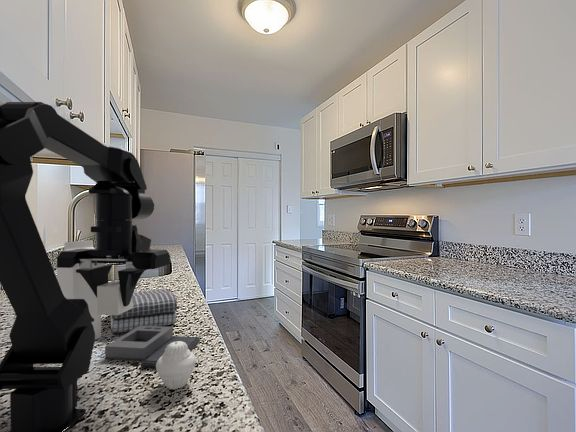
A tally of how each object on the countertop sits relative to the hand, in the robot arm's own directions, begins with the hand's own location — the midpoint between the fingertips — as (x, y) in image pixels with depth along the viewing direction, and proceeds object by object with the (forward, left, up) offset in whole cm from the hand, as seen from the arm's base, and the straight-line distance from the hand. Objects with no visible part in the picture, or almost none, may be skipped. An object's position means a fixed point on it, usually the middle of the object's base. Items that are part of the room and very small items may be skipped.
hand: (115, 305), depth 56 cm
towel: (+24, +10, -12) cm, 29 cm away
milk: (+10, +16, -11) cm, 22 cm away
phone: (+6, -8, -11) cm, 15 cm away
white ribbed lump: (-4, -14, -11) cm, 19 cm away
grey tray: (+8, 0, -11) cm, 14 cm away
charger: (0, 0, -1) cm, 1 cm away
